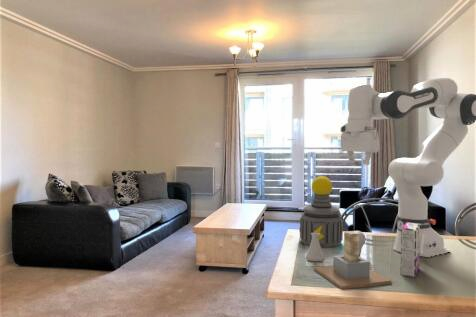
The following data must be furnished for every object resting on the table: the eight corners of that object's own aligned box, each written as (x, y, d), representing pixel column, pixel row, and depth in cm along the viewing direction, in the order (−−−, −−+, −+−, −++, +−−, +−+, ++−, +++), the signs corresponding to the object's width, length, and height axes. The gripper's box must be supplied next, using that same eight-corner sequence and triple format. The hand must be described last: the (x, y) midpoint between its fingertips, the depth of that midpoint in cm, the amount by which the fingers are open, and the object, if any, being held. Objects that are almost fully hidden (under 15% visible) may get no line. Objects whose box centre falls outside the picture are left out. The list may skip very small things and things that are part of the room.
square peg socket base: (358, 265, 137) (358, 249, 137) (391, 283, 120) (391, 265, 120) (314, 269, 132) (314, 253, 132) (341, 289, 115) (342, 270, 115)
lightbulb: (345, 259, 145) (346, 230, 145) (353, 255, 150) (353, 228, 149) (360, 262, 141) (361, 233, 140) (367, 259, 145) (368, 231, 145)
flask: (324, 262, 140) (325, 236, 140) (305, 261, 142) (305, 235, 141) (324, 257, 147) (324, 231, 147) (305, 255, 149) (305, 230, 148)
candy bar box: (404, 265, 138) (405, 221, 137) (419, 268, 135) (420, 223, 134) (399, 275, 128) (400, 227, 128) (415, 277, 126) (417, 229, 125)
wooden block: (352, 271, 128) (353, 231, 128) (358, 274, 125) (359, 233, 124) (343, 272, 127) (344, 231, 127) (349, 275, 124) (350, 234, 123)
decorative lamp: (296, 246, 162) (298, 177, 161) (302, 235, 180) (303, 173, 179) (341, 250, 157) (343, 179, 156) (342, 239, 175) (344, 175, 174)
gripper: (384, 126, 132) (383, 165, 133) (351, 128, 152) (350, 162, 153) (369, 126, 131) (368, 165, 131) (338, 128, 150) (337, 162, 151)
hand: (358, 163), depth 142 cm, fingers open, 8 cm apart
